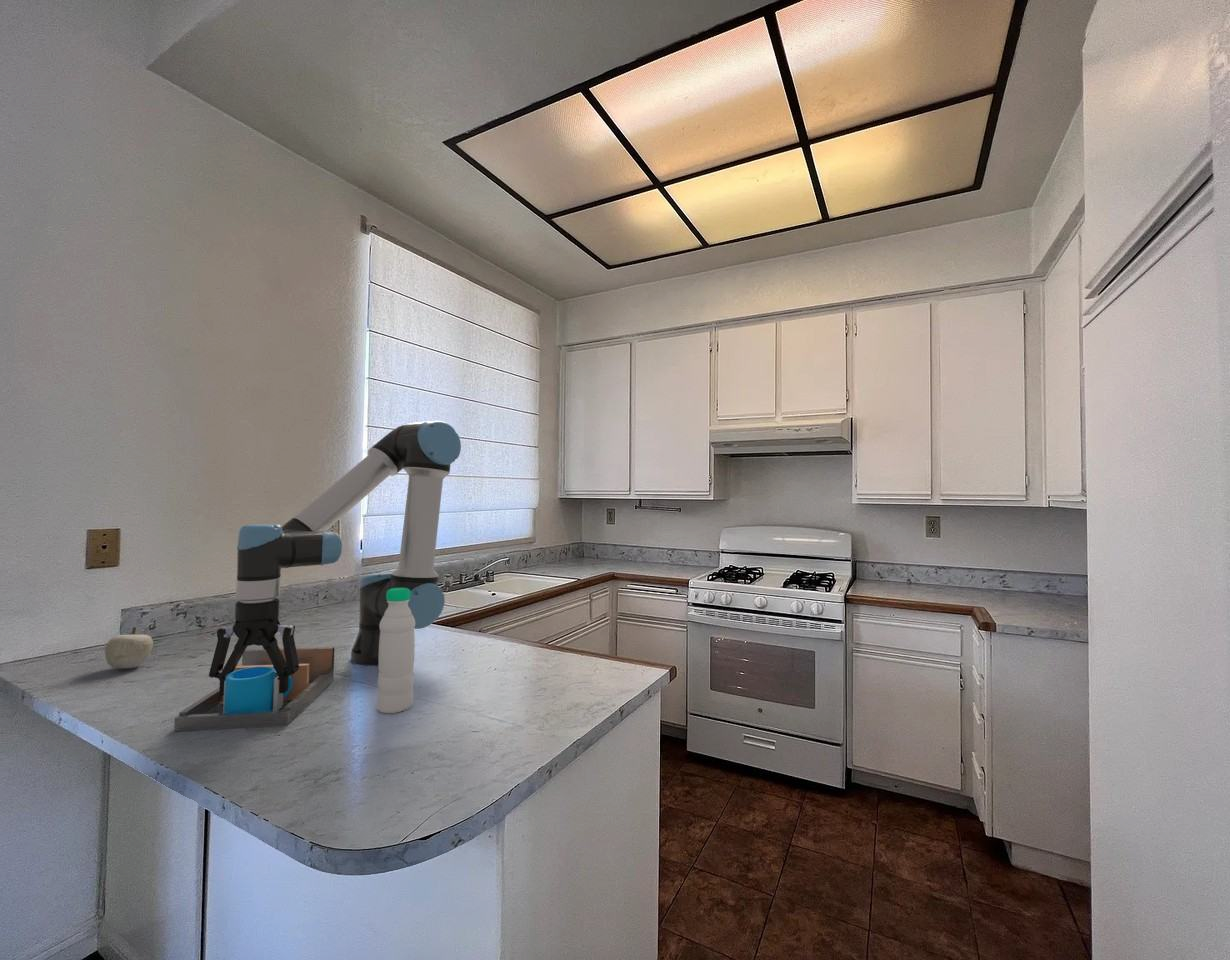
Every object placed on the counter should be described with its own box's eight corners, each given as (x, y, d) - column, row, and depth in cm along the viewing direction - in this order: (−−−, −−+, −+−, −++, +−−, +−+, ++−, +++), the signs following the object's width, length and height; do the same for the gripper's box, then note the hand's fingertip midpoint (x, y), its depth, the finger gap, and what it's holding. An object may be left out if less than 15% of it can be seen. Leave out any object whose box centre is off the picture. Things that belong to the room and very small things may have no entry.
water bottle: (377, 717, 105) (381, 593, 106) (375, 704, 111) (379, 587, 112) (414, 711, 108) (418, 590, 109) (411, 699, 115) (414, 585, 115)
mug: (232, 726, 100) (234, 683, 100) (217, 714, 105) (219, 673, 105) (300, 706, 110) (301, 667, 110) (283, 696, 115) (285, 659, 115)
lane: (333, 680, 125) (334, 646, 125) (287, 725, 101) (288, 683, 101) (243, 684, 121) (245, 649, 122) (174, 731, 97) (176, 688, 98)
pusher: (313, 691, 117) (315, 659, 117) (306, 698, 113) (307, 665, 113) (233, 694, 114) (234, 661, 114) (222, 702, 110) (223, 668, 110)
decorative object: (102, 677, 124) (104, 635, 125) (105, 667, 131) (107, 627, 131) (152, 669, 130) (153, 629, 130) (152, 660, 137) (154, 622, 137)
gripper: (320, 594, 113) (316, 700, 113) (211, 596, 110) (206, 704, 109) (306, 602, 106) (301, 714, 105) (188, 603, 102) (183, 720, 102)
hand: (253, 709), depth 107 cm, fingers closed on mug, 8 cm apart
